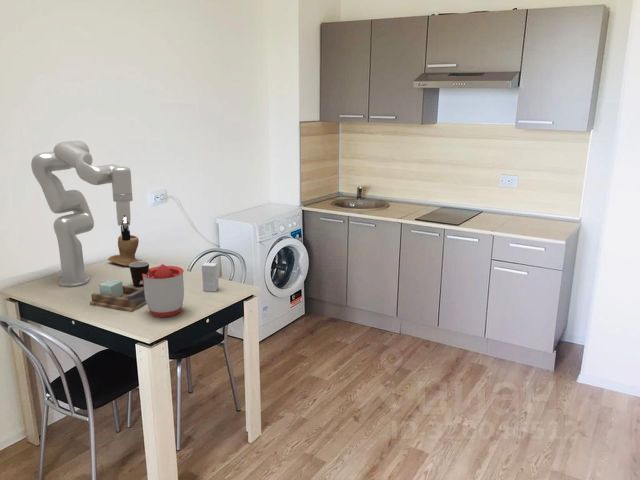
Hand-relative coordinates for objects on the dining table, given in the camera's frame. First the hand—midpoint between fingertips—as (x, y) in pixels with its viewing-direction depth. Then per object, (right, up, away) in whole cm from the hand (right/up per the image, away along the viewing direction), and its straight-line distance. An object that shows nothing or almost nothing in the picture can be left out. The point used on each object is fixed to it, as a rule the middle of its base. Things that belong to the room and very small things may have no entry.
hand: (125, 237), depth 224 cm
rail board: (-1, -27, 0) cm, 27 cm away
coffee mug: (0, -21, +22) cm, 30 cm away
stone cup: (-19, -13, +52) cm, 57 cm away
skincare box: (+33, -24, +15) cm, 43 cm away
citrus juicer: (+19, -30, -10) cm, 37 cm away
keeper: (-6, -25, +2) cm, 26 cm away
